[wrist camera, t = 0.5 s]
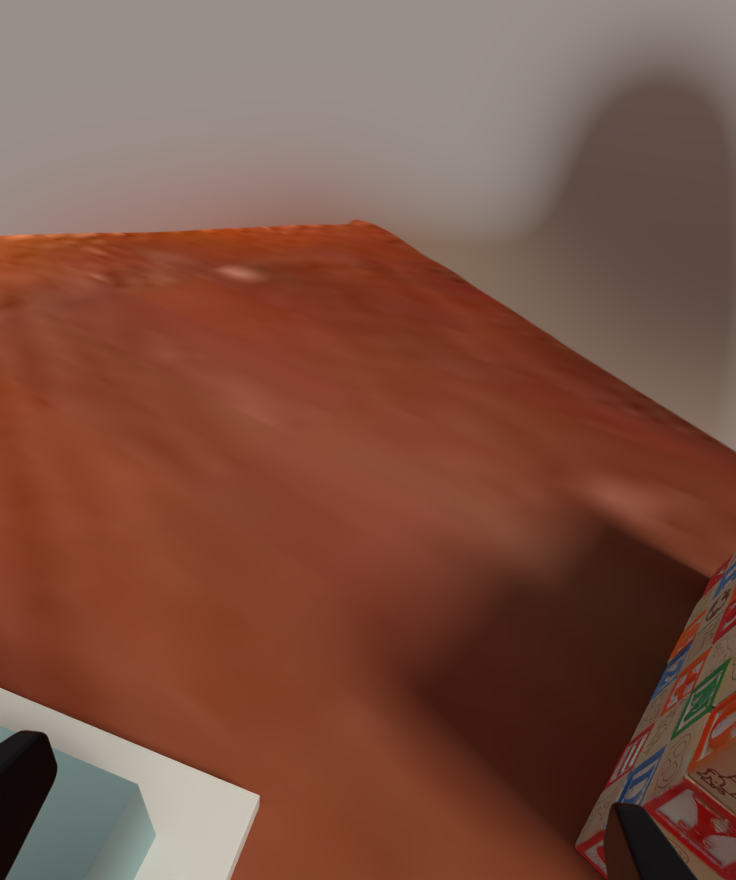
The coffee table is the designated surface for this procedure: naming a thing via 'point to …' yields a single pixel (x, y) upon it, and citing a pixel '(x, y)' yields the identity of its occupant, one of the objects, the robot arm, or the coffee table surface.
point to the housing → (85, 826)
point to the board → (155, 794)
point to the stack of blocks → (686, 745)
